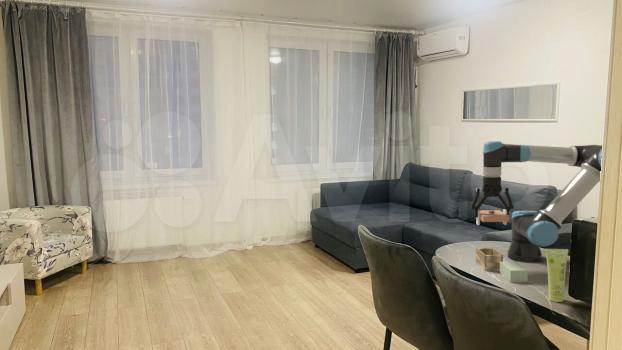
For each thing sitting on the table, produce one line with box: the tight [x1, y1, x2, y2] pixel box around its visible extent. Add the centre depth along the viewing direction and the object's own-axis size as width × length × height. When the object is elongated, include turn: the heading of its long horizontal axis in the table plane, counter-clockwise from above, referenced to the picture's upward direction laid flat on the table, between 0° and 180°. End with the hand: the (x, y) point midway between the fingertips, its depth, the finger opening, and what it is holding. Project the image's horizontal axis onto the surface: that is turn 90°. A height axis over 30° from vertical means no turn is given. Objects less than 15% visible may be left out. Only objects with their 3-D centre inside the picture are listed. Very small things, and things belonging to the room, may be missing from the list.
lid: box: [478, 209, 510, 223], centre depth 205 cm, size 11×13×4 cm
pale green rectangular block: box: [499, 260, 529, 283], centre depth 194 cm, size 7×12×5 cm, turn 178°
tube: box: [544, 248, 569, 303], centre depth 167 cm, size 6×5×20 cm
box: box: [475, 247, 504, 272], centre depth 209 cm, size 8×12×7 cm, turn 178°
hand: (491, 224), depth 205 cm, fingers closed on lid, 11 cm apart
